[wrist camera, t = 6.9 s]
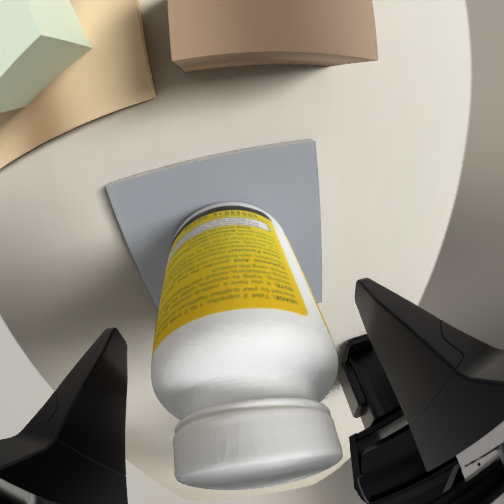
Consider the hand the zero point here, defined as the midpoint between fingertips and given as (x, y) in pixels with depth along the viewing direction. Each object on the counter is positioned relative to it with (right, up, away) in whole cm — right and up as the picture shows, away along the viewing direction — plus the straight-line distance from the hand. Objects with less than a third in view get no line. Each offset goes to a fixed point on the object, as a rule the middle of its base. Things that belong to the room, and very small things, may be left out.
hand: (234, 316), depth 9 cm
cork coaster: (-8, +11, -3) cm, 14 cm away
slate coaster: (-1, +2, +4) cm, 5 cm away
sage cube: (-8, +11, -3) cm, 14 cm away
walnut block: (+1, +11, -1) cm, 12 cm away
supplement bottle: (-1, +2, +4) cm, 4 cm away
